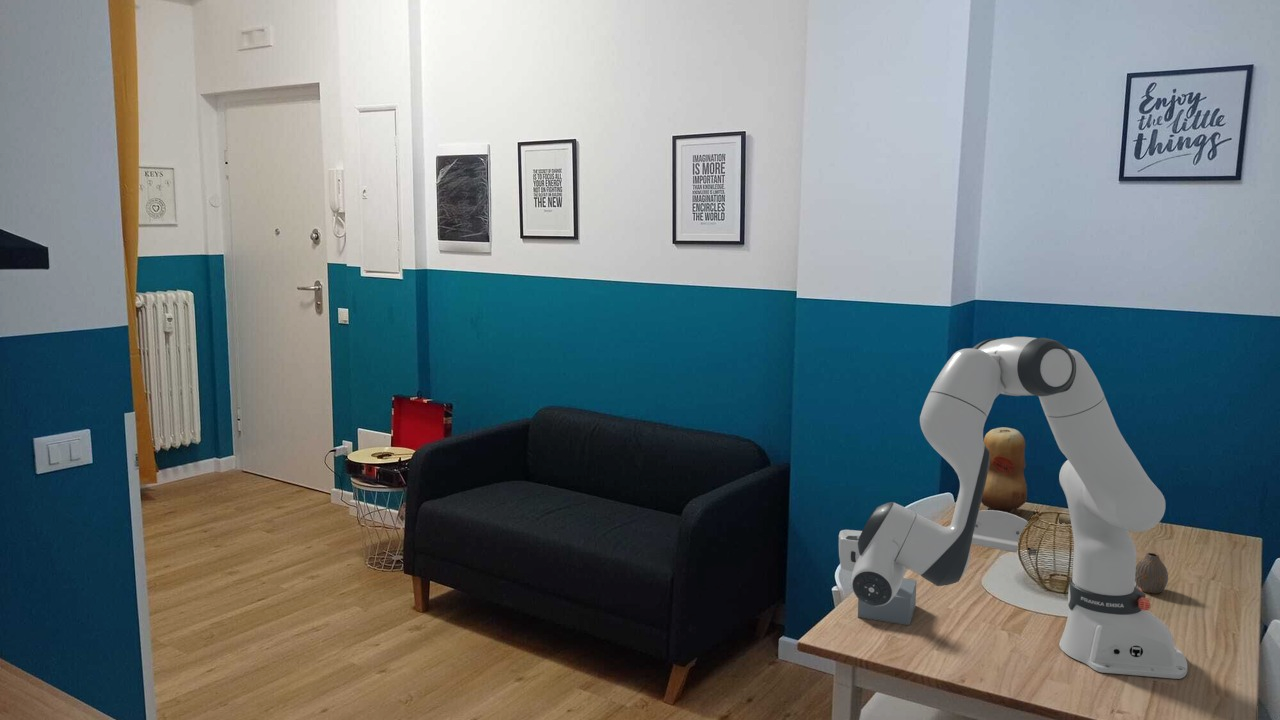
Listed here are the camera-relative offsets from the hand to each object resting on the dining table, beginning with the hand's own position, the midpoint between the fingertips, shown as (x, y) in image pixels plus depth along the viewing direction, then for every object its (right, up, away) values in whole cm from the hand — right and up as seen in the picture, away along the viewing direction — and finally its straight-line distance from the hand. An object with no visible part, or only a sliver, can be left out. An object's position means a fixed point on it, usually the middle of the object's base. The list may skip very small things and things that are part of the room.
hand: (895, 533), depth 188 cm
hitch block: (+3, -20, +16) cm, 26 cm away
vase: (+67, -18, +25) cm, 74 cm away
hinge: (+43, -14, +57) cm, 72 cm away
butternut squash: (+55, -9, +83) cm, 100 cm away
